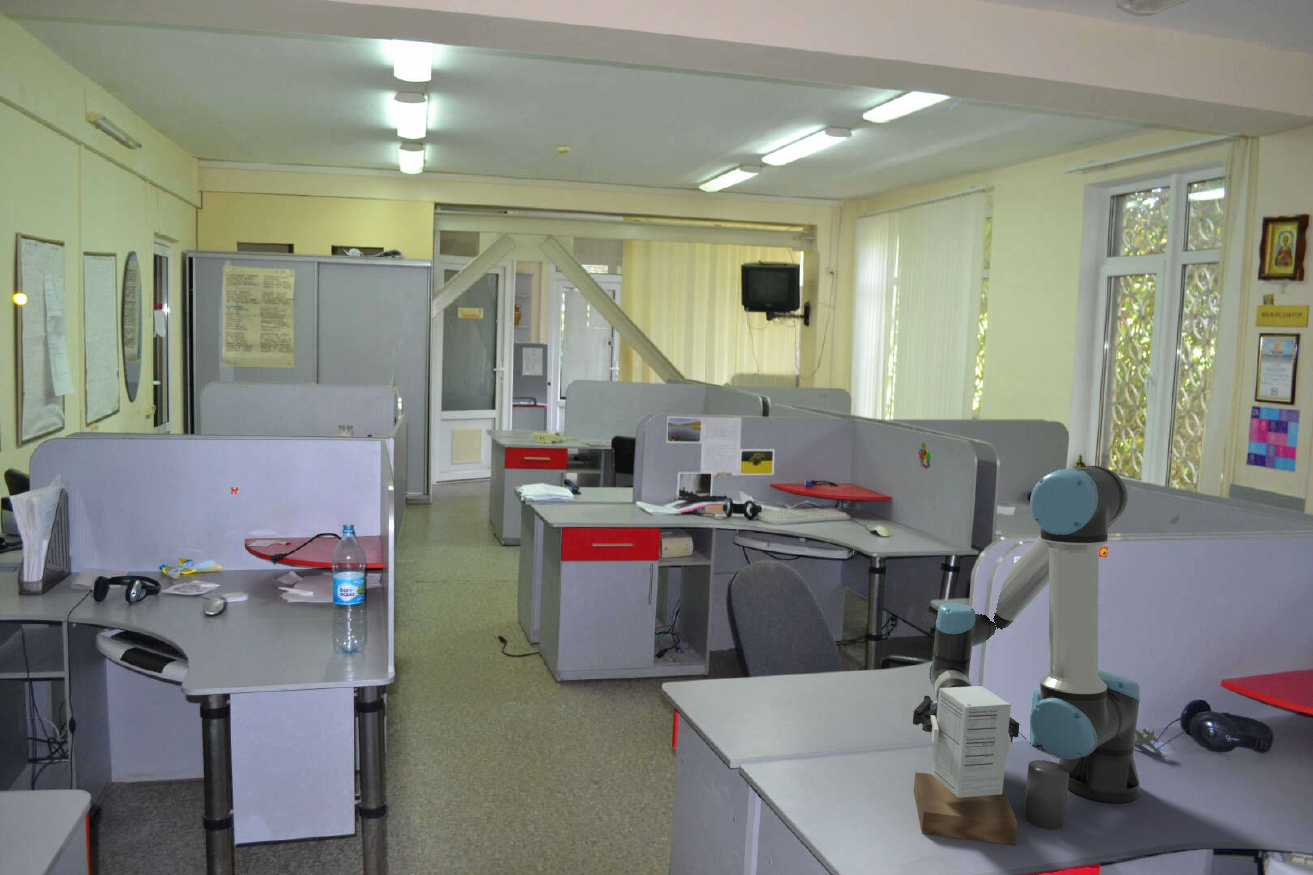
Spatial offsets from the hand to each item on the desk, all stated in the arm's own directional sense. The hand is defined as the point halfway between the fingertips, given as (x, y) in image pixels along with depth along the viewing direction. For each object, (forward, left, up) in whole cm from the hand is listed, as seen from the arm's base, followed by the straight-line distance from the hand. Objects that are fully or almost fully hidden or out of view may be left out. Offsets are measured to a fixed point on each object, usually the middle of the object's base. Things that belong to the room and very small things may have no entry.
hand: (971, 740), depth 174 cm
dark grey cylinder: (-15, -7, -16) cm, 23 cm away
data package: (-21, -47, -17) cm, 54 cm away
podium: (0, -4, -16) cm, 17 cm away
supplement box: (0, -2, -9) cm, 9 cm away
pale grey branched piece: (-43, -47, -17) cm, 66 cm away
